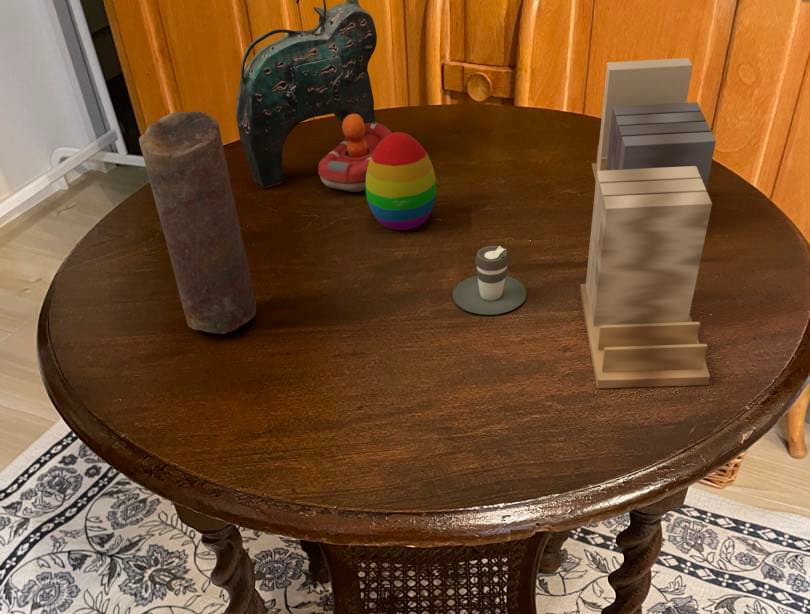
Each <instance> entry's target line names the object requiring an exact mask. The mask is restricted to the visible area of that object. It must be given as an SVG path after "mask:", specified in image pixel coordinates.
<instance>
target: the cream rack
mask: <svg viewBox="0 0 810 614" xmlns="http://www.w3.org/2000/svg"><path fill="white" fill-rule="evenodd" d="M594 187H595V188H594V198H593V207H592V217H591V228H590V239H589V247H588V256H587V257H588V258H587V269H586V278H585V283H580V284H579V296H580V301H581V307H582V308H581V309H582V314H583V319H584V324H585V330H586V335H587V341H588V347H589V352H590V359H591V364H592V370H593V375H594V380H595V386H596V389H624V388H653V387H654V388H657V387H684V386H686V387H687V386H708V385H709V383H710V380H711V375H710V374H711V373H710V372H709V368H708V365H707V362H706V355H707V351H708V344H707V343H700V341H699V333H700V327H701V322H700V321H693V319H692V316H691V309H692V303H693V298H694V295H695V294H694V293H695V289H696V285H697V279H698V275H699V274H698V273H699V269H700V264H701V260H702V254H703V250H704V246H705V241H706V235H707V231H708V226H709V221H710V216H711V211H712V207H713V202H712V200H711V197H710V195H709V192H708V191H707V188H705V186H704V183H703V181H702V179H701V176H700V174H699V171H698V169H697V167H696V166H685V167H665V168H645V169H625V170H605V171H597V176H596V181H595V186H594Z"/></svg>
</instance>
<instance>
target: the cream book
mask: <svg viewBox="0 0 810 614" xmlns="http://www.w3.org/2000/svg"><path fill="white" fill-rule="evenodd" d="M692 71H693V63H692V61H691V59H690V57H681V58H680V57H679V58H662V59H661V58H659V59H645V60H629V61H627V60H626V61H609V62H607V63H606V71H605V78H604V79H605V81H604V82H605V83H604V90H603V101H602V111H601V123H600V131H599V142H598V145H599V150H598V149H597V150H598V161H597V171H600V165H601V157H608V148H609V139H610V130H611V120H612V111H613V107H619V106H637V105H655V104H673V103H687V102H688V101H687V100H688V94H689V90H690V89H689V88H690V83H691V76H692Z"/></svg>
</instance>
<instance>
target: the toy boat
mask: <svg viewBox="0 0 810 614" xmlns="http://www.w3.org/2000/svg"><path fill="white" fill-rule="evenodd" d="M341 130H342V133H343V136H344V135H345V136H346V138H345V136H344V139H343V140H342V141H341V142H340V143H339V144H338V145H337V146H336V147H335V148H333V149H332V150H331V151H330V152H328V154H326V155H325V156H324V157H322V159H320V161H319V163H318V170H317V173H318V176H319V177H320V180H321V183H323V184H324V185H325V186H326V187H328V188H330V189H333V190H340V191H345V192H350V193H361V192H364V191H366V173H367V168H368V164H369V161H370V158H371V156H372V154H373V152H374V150H375V148H376V147H377V145H378V144H379V143H380V142H381V140H382V139H383V138H385V137H386V136H387V135H389V134H391V133H393V132H392V131H391V130H390V129H389V127H387V126H386V125H384V124H382V123H380V122H375V123H366V124H364V122H363V119H362V118H361V116H360V115H358V114H350V115H348V116H347V117H346V118H345V119H344V120H343V123H342V128H341Z"/></svg>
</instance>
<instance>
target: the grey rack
mask: <svg viewBox="0 0 810 614" xmlns="http://www.w3.org/2000/svg"><path fill="white" fill-rule="evenodd" d="M716 143H717V140H716V139H715V136H714V134H713V132H712V129H711V127H710V126H709V123H708V122H707V119H706V117H705V115H704V113H703V111H702V109H701V107H700V105H699V103H698V101H693V102H686V103H673V104H655V105H637V106H619V107H613V111H612V120H611V130H610V139H609V148H608V157H601V165H600V171H605V170H625V169H645V168H665V167H685V166H696V167H697V169H698V171H699V174H700V176H701V179H702V181H703V183H704V186H705V188H706V189H708V182H709V179H710V178H709V177H710V173H711V168H712V164H713V163H712V162H713V158H714V152H715V148H716ZM598 150H599V144H598V145H597V153H596V159H595V162H591V168H592V172H593V177H594V180H595V182H596V176H597V161H598Z"/></svg>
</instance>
